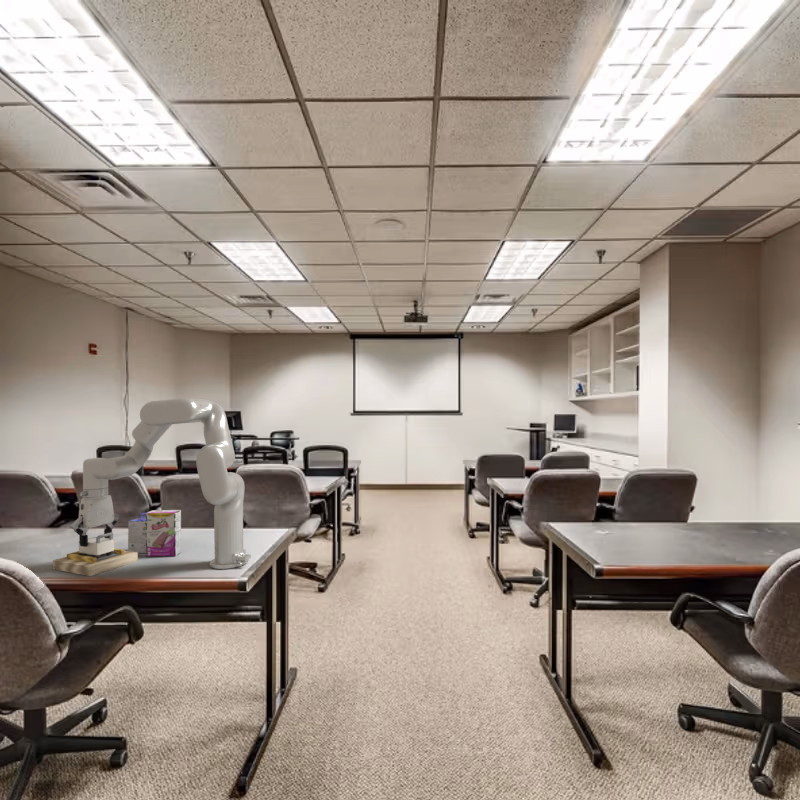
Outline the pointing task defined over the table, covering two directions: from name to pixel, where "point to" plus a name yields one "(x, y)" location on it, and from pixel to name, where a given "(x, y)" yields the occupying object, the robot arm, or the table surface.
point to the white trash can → (98, 546)
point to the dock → (94, 562)
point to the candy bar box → (163, 533)
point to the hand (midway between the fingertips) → (96, 542)
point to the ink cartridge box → (137, 535)
